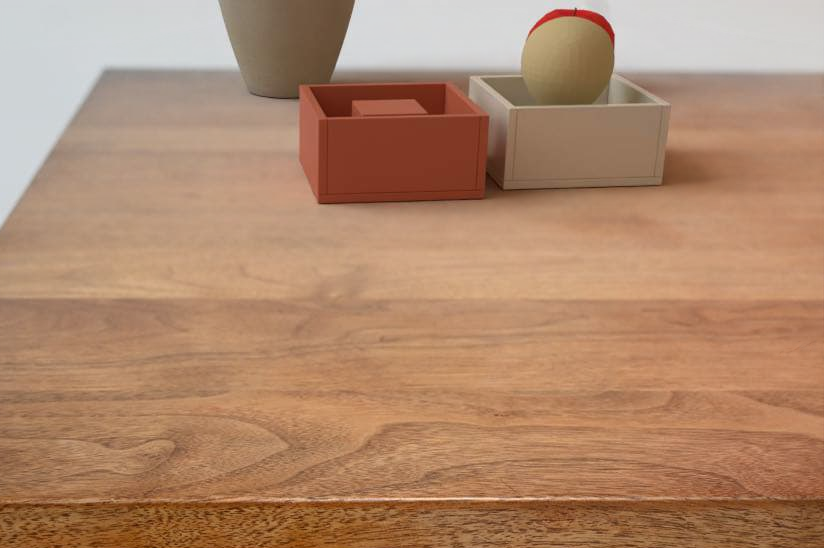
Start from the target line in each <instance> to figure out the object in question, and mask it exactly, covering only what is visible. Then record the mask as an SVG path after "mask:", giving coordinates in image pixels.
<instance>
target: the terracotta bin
mask: <svg viewBox="0 0 824 548" xmlns="http://www.w3.org/2000/svg"><path fill="white" fill-rule="evenodd" d="M404 99H415V100H416V101H417V102H418V103H419V104H420V105H421V106H422V108H423V109H424V110H425V111H426V112H427V113H428V115H410V116H367V117H352V101H362V100H404ZM298 123H299V124H298V125H299V126H298V127H299V130H298V131H299V135H298V136H299V141H298V142H299V143H298V144H299V148H298V149H299V150H298V151H299V154H298V159H299V162H300V165H301V167H302V170H303V172H304V174H305V176H306V178H307V181H308V183H309V185H310V188H311V190H312V192H313V195H314V198H315V200H316V202H317V203H318V204H345V203H347V204H348V203H350V204H351V203H378V202H379V203H380V202H381V203H383V202H385V203H386V202H412V201H415V202H416V201H417V202H418V201H448V200H449V201H451V200H452V201H453V200H483V199H485V192H486V191H485V190H486V175H487V171H486V161H487V146H488V130H489V115H488V114H487V113H486V112H485V111H483V110H482V109H481V108H480V107H479V106H478V105H477V104H476V103H475V102H473V101H472V100H471V99H470V98H469V95H467V94H466V93H464V91H463V90H461V88H459V87H458V86H457V85H456V84H455V83H453V81H425V82H423V81H422V82H419V81H418V82H416V81H415V82H378V83H377V82H375V83H372V82H371V83H337V84H336V83H329V84H320V85H300V97H299V122H298Z"/></svg>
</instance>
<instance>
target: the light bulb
mask: <svg viewBox="0 0 824 548" xmlns="http://www.w3.org/2000/svg"><path fill="white" fill-rule="evenodd" d="M527 37H528V36H527ZM526 39H527V38H526ZM615 59H616V58H615V49H614V48H613V44H612V41H611V39H610V36H609V35H608V33H607V32H606V31H605V30H604V29H603V28H602V27H600V26H599V25H597V24H596V23H594V22H592V21H590V20H587V19H584V18H579V17H560V18H556V19H553V20H550V21H548V22H546V23H544V24H542V25H540V26H539V27H537V28H536V29H535V30H534V31H533V32H532V33H531V34H530V36H529V37H528V39H527V41H526V40H525V43H524V46H523V48H522V52H521V58H520V70H521V75H522V76H523V79H524V82H525V84H526V86H527V88H528V90H529V92H530V94H531V95H532V97H533V98H534V100H535V101H536V103H537V104H538V106H552V105H592V104H593V103H594V101H595V100H596V99H597V98H598V97H599V96H600V94H601V93H602V92H603V90H604V89H605V88H606V86H607V84H608V83H609V80H610V78H611V76H612V73H614V69H615Z"/></svg>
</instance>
